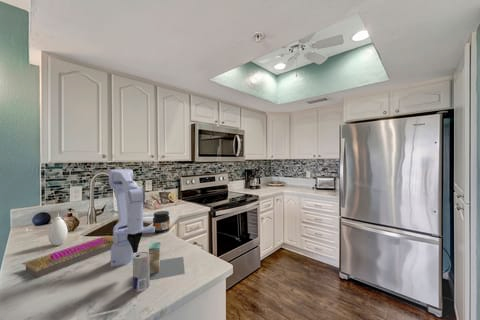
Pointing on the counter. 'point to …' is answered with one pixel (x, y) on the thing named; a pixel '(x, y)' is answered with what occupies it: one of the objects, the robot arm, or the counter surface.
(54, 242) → the white egg candle
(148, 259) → the energy drink
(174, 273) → the rubber mat
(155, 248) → the oak block
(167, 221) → the supplement container
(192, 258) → the counter surface
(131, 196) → the robot arm
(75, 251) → the brown long flat block
